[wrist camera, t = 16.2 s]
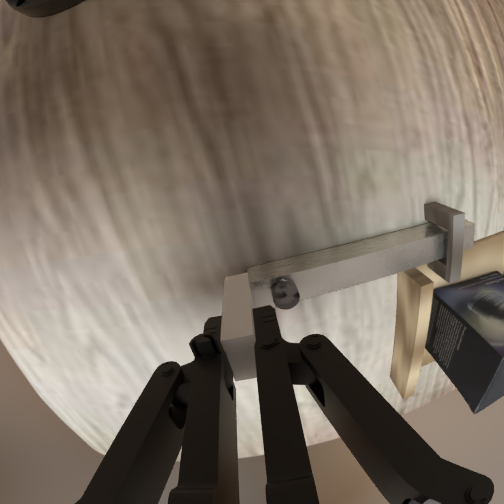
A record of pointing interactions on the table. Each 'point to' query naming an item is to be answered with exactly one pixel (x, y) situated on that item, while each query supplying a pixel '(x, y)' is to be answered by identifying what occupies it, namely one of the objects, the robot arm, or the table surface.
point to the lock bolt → (349, 264)
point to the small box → (470, 337)
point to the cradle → (432, 277)
